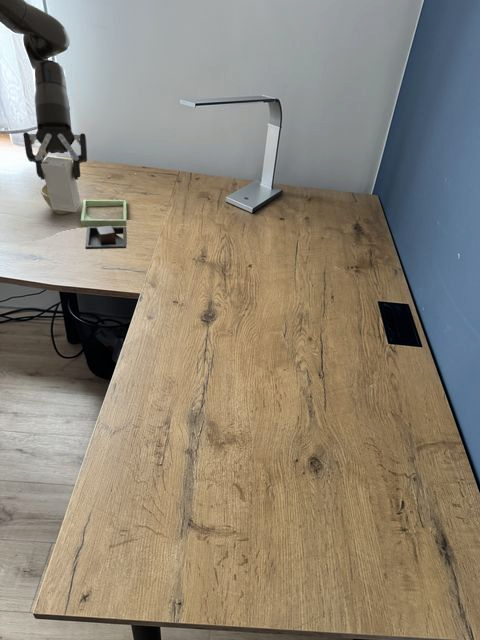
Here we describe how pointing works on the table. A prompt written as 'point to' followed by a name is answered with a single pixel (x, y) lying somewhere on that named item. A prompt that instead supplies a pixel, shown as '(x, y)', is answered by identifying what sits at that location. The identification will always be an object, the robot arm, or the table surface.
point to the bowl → (47, 199)
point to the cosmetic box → (61, 184)
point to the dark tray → (94, 244)
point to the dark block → (106, 235)
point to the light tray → (90, 222)
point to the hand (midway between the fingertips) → (59, 178)
